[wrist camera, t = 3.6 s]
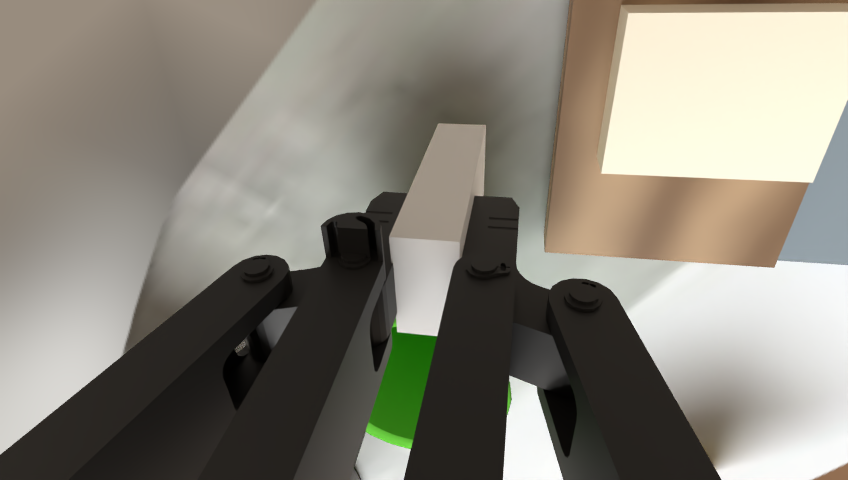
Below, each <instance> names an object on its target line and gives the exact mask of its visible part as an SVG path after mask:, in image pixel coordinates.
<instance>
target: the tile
mask: <svg viewBox="0 0 848 480" xmlns="http://www.w3.org/2000/svg"><path fill="white" fill-rule="evenodd" d="M847 100H848V3H791V4H670V5H621V8H620V15H619V21H618V27H617V33H616V39H615V46H614V52H613V58H612V64H611V71H610V77H609V83H608V89H607V95H606V102H605V108H604V114H603V120H602V126H601V133H600V139H599V145H598V151H597V159H598V163H599V167H600V171H601V174H623V175H646V176H670V177H693V178H716V179H740V180H763V181H786V182H810V183H813V181H814V179H815V176H816V174H817V172H818V169H819V167H820V164H821V162H822V160H823V157H824V155H825V153H826V150H827V148H828V145H829V143H830V141H831V138H832V136H833V134H834V131H835V129H836V126H837V124H838V122H839V119H840V117H841V115H842V112H843V110H844V107H845V105H846V103H847Z"/></svg>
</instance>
